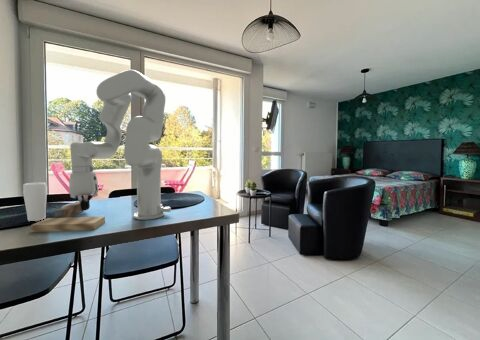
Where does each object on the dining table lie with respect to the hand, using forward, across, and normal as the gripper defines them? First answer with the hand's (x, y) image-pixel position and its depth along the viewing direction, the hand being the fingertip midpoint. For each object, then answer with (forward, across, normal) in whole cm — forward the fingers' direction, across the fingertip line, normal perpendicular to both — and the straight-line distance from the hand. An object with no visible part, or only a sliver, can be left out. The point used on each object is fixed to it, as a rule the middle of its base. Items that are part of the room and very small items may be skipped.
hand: (85, 209), depth 97 cm
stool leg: (+1, +4, +5) cm, 6 cm away
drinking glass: (+1, +14, +9) cm, 16 cm away
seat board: (+2, -4, +20) cm, 20 cm away
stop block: (+1, +7, 0) cm, 7 cm away
